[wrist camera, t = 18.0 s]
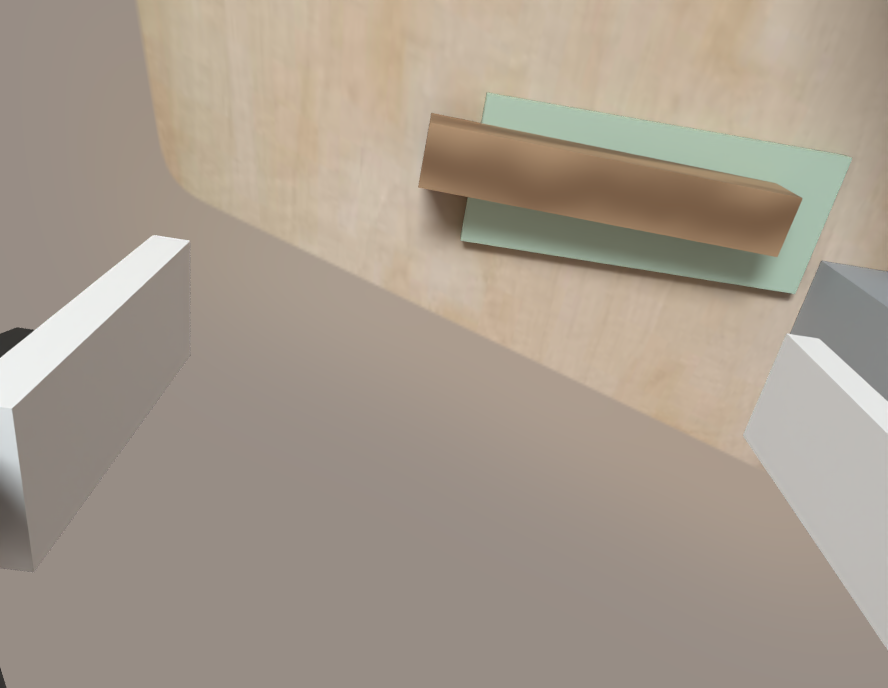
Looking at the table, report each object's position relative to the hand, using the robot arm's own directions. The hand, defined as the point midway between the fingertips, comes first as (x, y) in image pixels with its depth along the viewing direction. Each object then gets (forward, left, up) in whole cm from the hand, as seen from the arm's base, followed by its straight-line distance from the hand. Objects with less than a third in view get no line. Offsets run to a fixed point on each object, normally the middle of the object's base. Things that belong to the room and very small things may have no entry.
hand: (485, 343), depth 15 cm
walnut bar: (+3, +10, -34) cm, 35 cm away
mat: (+4, +14, -35) cm, 38 cm away
